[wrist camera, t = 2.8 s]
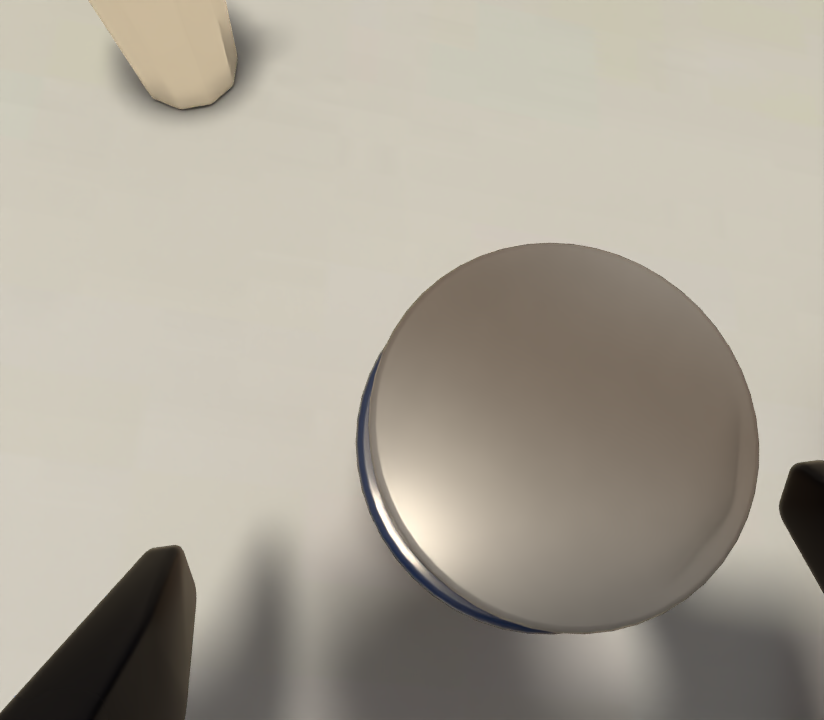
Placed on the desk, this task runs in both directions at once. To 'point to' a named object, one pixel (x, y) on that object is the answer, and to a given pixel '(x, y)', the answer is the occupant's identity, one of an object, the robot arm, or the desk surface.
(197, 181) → the desk surface
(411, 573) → the travel flask
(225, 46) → the milkshake
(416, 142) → the desk surface
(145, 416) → the desk surface
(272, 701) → the desk surface
